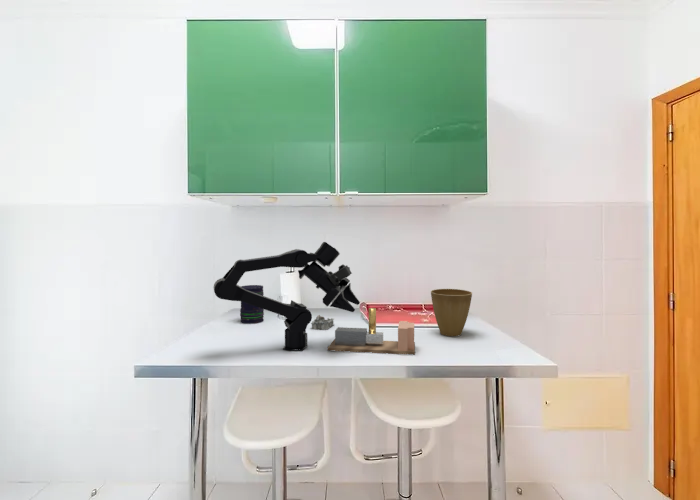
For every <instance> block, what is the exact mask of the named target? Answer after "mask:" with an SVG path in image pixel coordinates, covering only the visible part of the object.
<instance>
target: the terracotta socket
mask: <svg viewBox="0 0 700 500" xmlns="http://www.w3.org/2000/svg"><path fill="white" fill-rule="evenodd" d="M397 341H398V351H408V350H414V342H415V322H409V321H405V320H403V321H401V320H399V322H398V326H397Z"/></svg>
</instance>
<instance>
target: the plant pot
mask: <svg viewBox="0 0 700 500" xmlns="http://www.w3.org/2000/svg"><path fill="white" fill-rule="evenodd" d="M430 295H431V296H430V297H431V302H432V303H431V304H432V308H433V313H434V316H435V317H434V318H435V321H436V324H437V327H438V330H439V332H440V334H441V335H442V336H446V337H460V336H461V335H462V333H463V331H464V328H465V326H466V322H467V321H468V320H467V319H468V317H469V312H470V308H471V303H472V297H473V292H472V291H469V290H465V289H458V288H435V289H432V290H430Z"/></svg>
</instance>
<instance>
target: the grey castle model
mask: <svg viewBox="0 0 700 500" xmlns="http://www.w3.org/2000/svg"><path fill="white" fill-rule="evenodd" d="M334 320H335V318H332V317H331V318H329V317H327V319H326V318H325V317H324V316H321V315H320V314H319V315H317V316H316V318H314V320H313V321H312V320H311V322H310V324H311V329H312V330H313V331H314V330H315V331H316V330H321V331H326V330H327V331H328V330H329V329H330V328H332V327H333V326H335V325H334Z"/></svg>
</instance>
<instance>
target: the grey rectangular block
mask: <svg viewBox="0 0 700 500" xmlns="http://www.w3.org/2000/svg"><path fill="white" fill-rule="evenodd" d="M366 332H368V328H367V327H366V328H365V327H364V328H363V327H362V328H361V327H343V326H341V327H340V326H338V327H337V328H336V329H335V330H334V339H335V345H342V346H364V347H365V346H366V344H367V343H366Z"/></svg>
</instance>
